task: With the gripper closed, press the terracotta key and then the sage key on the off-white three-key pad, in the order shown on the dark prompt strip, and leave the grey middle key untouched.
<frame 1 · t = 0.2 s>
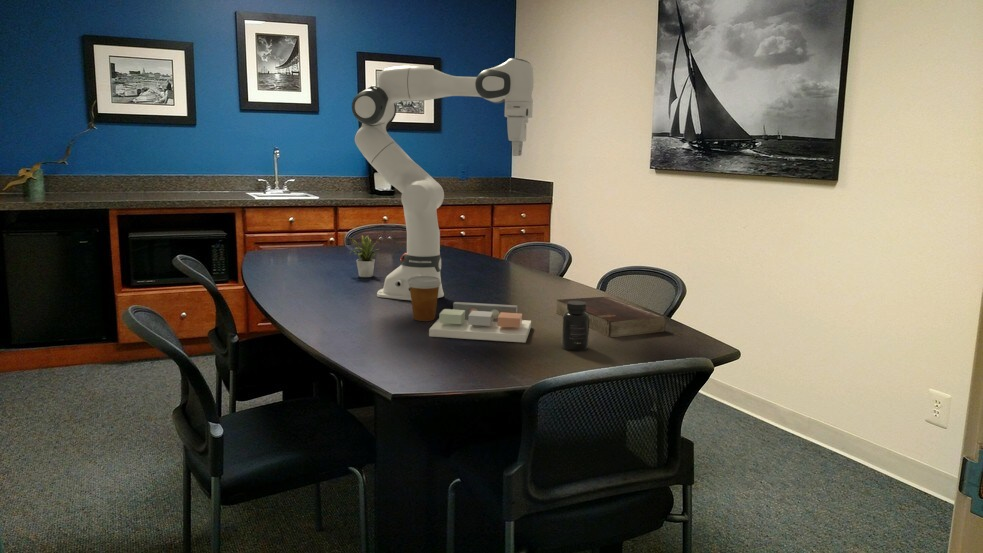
hand: (517, 155, 228), 48 cm above the table, tool pointing down, fingers open, 8 cm apart
disposable coffee cup: (424, 319, 210), on the table
house plant: (363, 275, 275), on the table
sage key: (452, 316, 196), point 4 cm above the table, slide at 0.0 cm
supplement bottle: (574, 348, 183), on the table
terracotta key: (510, 319, 193), point 4 cm above the table, slide at 0.0 cm
grey key: (481, 318, 194), point 4 cm above the table, slide at 0.0 cm
keypad: (481, 331, 197), on the table
hardback book: (608, 324, 211), on the table
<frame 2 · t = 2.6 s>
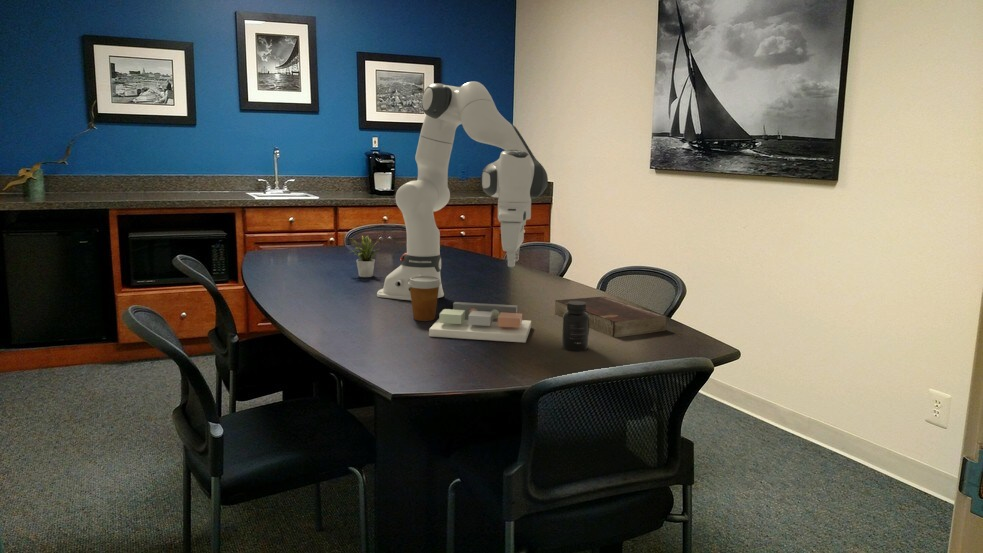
hand: (513, 263, 191), 20 cm above the table, tool pointing down, fingers open, 8 cm apart
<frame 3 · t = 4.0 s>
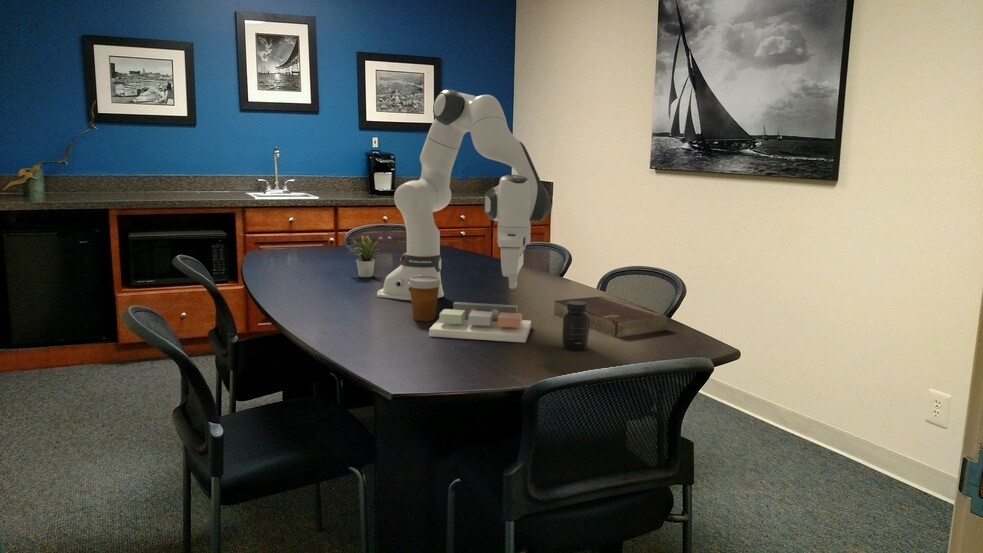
hand: (513, 287, 192), 13 cm above the table, tool pointing down, fingers closed
nothing on the table moved.
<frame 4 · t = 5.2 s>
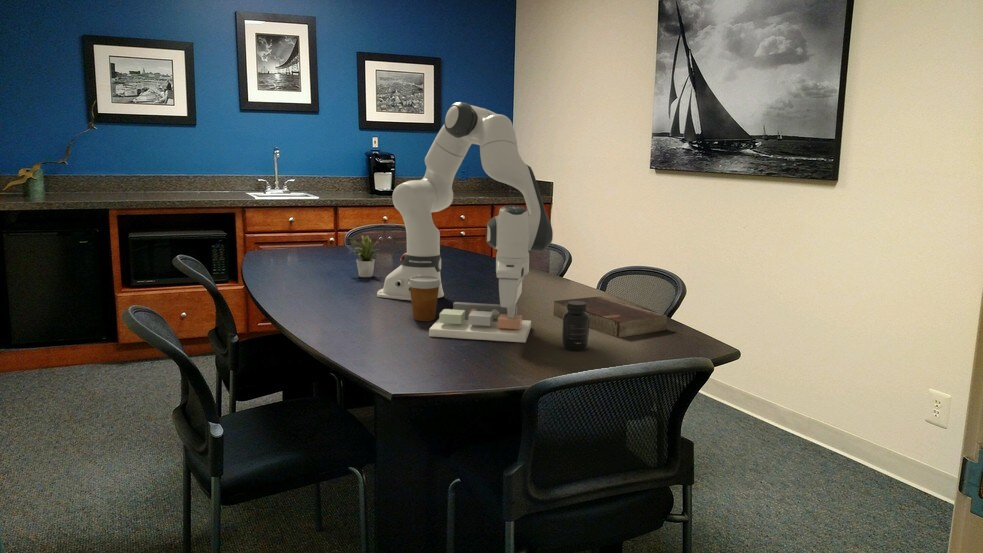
hand: (511, 316, 193), 5 cm above the table, tool pointing down, fingers closed, pressing on terracotta key
terracotta key: (510, 321, 193), point 4 cm above the table, slide at 0.4 cm, touching gripper
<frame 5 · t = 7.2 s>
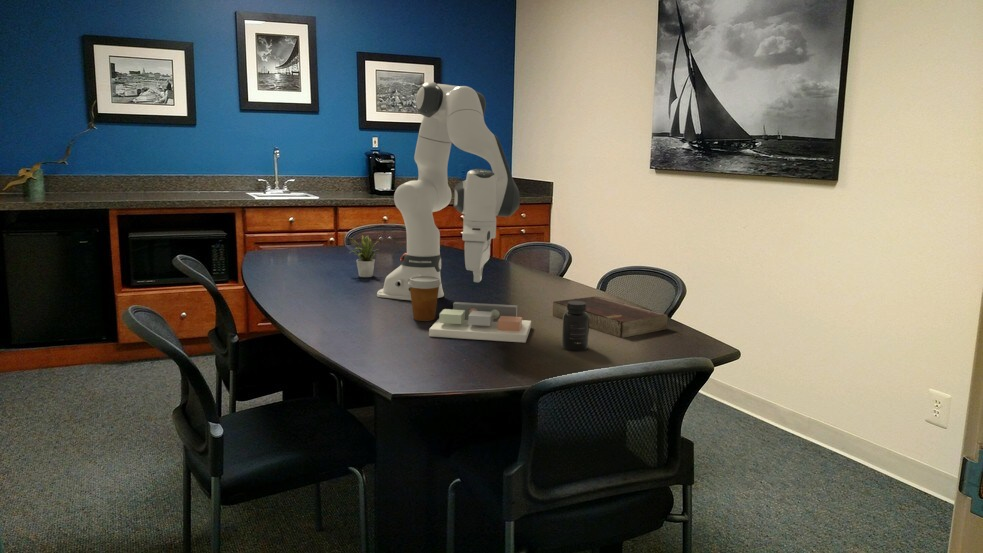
hand: (477, 281, 193), 14 cm above the table, tool pointing down, fingers closed
terracotta key: (509, 323, 194), point 3 cm above the table, slide at 1.0 cm, touching keypad
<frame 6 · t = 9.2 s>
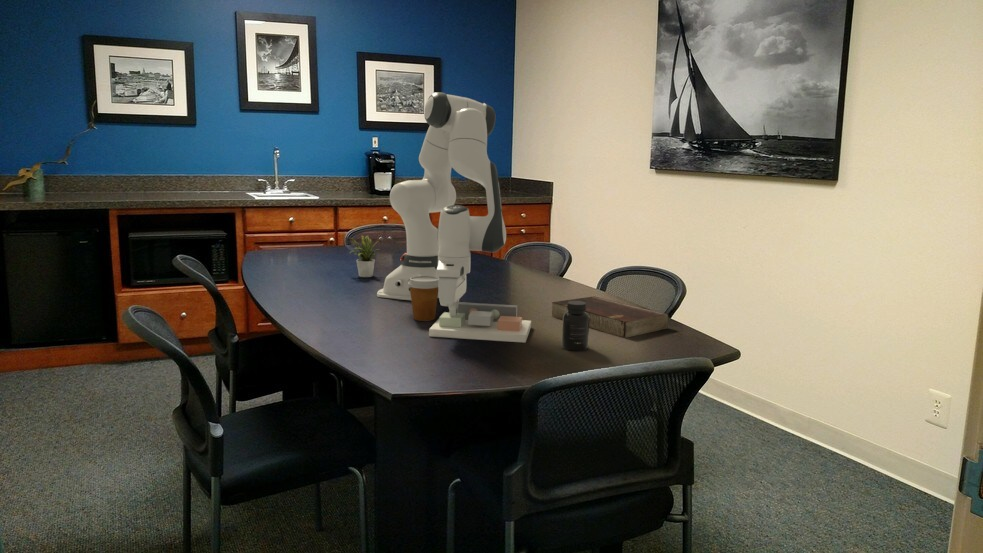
hand: (453, 315, 195), 5 cm above the table, tool pointing down, fingers closed, pressing on sage key
sage key: (452, 319, 196), point 3 cm above the table, slide at 1.0 cm, touching gripper
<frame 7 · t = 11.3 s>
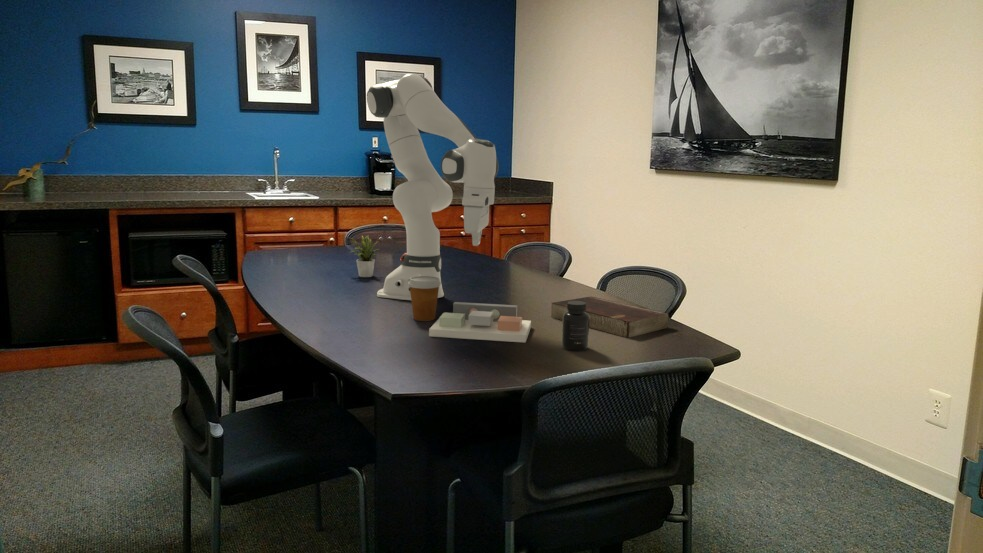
hand: (476, 245, 205), 22 cm above the table, tool pointing down, fingers closed
sage key: (452, 319, 196), point 3 cm above the table, slide at 1.0 cm, touching keypad
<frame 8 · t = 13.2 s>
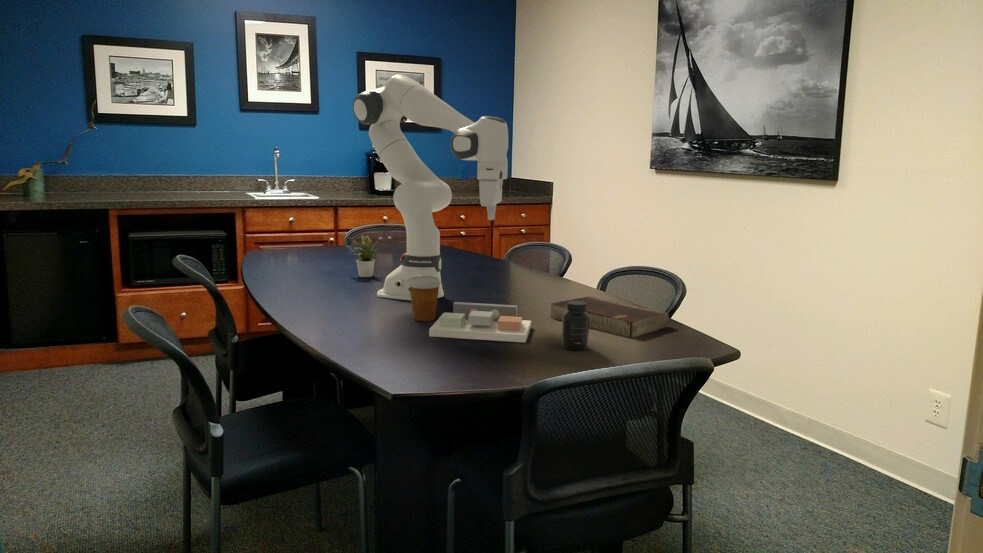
hand: (491, 219, 211), 29 cm above the table, tool pointing down, fingers closed
at the end: terracotta key slide at 1.0 cm; sage key slide at 1.0 cm; grey key slide at 0.0 cm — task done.
